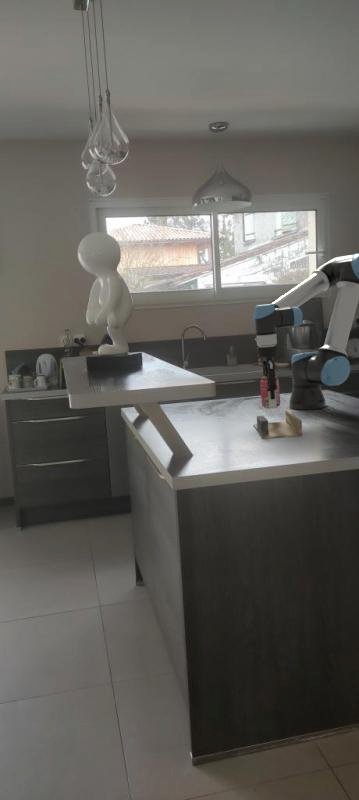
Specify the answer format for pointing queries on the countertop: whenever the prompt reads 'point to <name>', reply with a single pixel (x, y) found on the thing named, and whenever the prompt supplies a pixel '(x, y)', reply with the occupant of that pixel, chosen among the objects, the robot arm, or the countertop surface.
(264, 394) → the soda can
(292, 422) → the u-shaped channel bracket
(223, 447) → the countertop surface
